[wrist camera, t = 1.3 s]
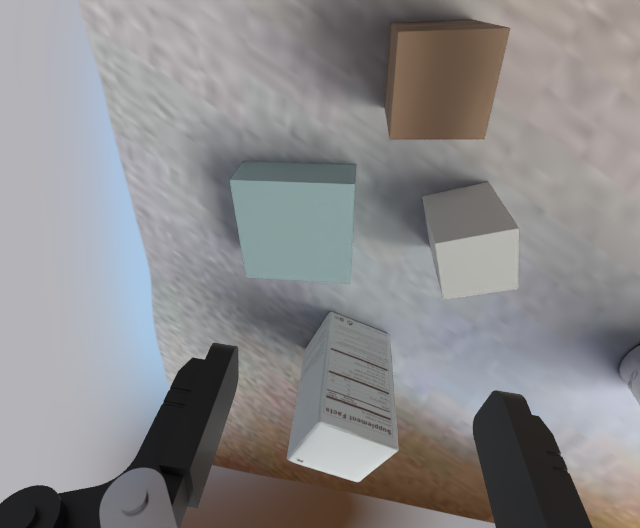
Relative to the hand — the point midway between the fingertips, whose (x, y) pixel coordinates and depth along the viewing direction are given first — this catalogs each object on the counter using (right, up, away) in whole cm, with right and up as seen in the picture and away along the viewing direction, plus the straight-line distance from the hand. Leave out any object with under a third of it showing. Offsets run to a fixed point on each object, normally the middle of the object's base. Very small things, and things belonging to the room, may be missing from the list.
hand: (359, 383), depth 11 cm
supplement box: (+2, -5, +29) cm, 29 cm away
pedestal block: (-3, +8, +20) cm, 22 cm away
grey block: (+10, +8, +18) cm, 22 cm away
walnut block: (+6, +17, +12) cm, 21 cm away
